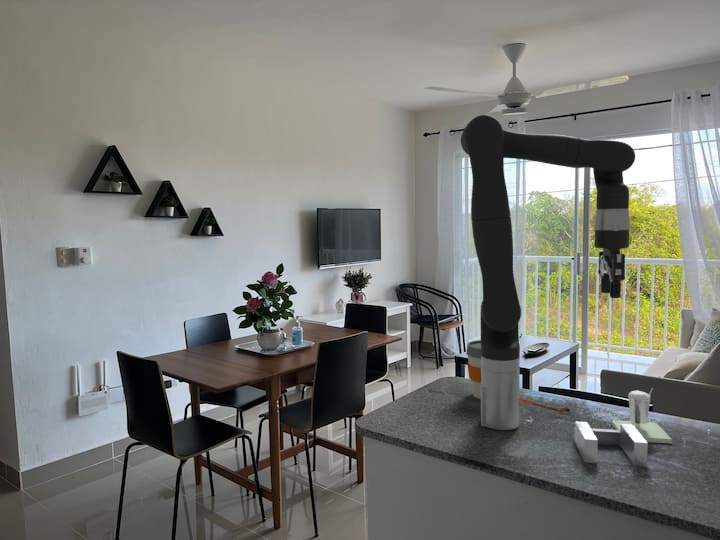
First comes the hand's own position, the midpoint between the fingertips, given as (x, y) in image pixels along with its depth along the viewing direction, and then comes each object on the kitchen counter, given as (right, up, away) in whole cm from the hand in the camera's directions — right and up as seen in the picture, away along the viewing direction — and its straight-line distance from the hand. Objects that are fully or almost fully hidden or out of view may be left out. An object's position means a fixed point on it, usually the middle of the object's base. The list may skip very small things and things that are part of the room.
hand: (610, 295), depth 127 cm
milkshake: (+5, -32, -3) cm, 32 cm away
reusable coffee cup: (-23, -31, +26) cm, 46 cm away
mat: (+5, -32, -3) cm, 33 cm away
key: (-11, -32, +15) cm, 37 cm away
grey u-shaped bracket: (-7, -34, -14) cm, 37 cm away
